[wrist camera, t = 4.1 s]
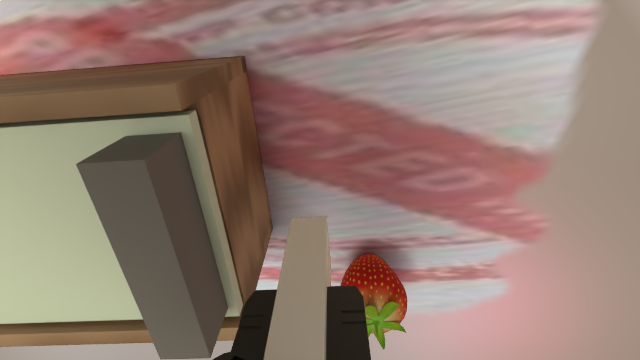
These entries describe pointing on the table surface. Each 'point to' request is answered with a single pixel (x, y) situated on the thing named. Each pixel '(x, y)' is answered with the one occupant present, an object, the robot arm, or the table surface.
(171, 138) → the lid
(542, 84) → the table surface
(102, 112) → the box
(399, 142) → the table surface
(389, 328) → the fruit
